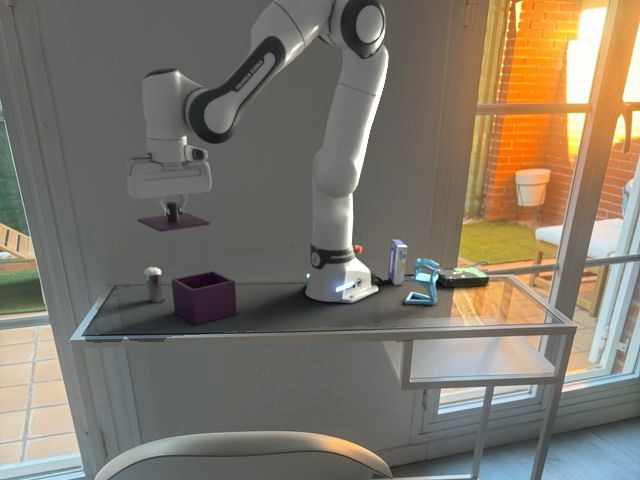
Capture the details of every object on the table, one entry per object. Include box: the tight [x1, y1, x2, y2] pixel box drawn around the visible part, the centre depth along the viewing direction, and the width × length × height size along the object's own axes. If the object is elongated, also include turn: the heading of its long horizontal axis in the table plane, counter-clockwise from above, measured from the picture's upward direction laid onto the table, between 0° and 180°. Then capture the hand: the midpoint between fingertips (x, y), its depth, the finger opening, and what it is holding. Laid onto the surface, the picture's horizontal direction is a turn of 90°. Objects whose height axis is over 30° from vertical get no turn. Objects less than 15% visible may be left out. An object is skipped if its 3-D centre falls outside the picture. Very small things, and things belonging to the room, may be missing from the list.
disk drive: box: [436, 266, 490, 288], centre depth 186 cm, size 10×3×15 cm
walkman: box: [387, 239, 408, 286], centre depth 181 cm, size 8×3×12 cm, turn 10°
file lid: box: [137, 201, 211, 233], centre depth 141 cm, size 13×11×5 cm
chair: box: [404, 258, 440, 306], centre depth 167 cm, size 8×8×12 cm
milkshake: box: [143, 265, 164, 303], centre depth 160 cm, size 4×5×10 cm
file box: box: [171, 270, 237, 325], centre depth 154 cm, size 13×11×9 cm
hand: (173, 214), depth 141 cm, fingers closed on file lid, 2 cm apart
